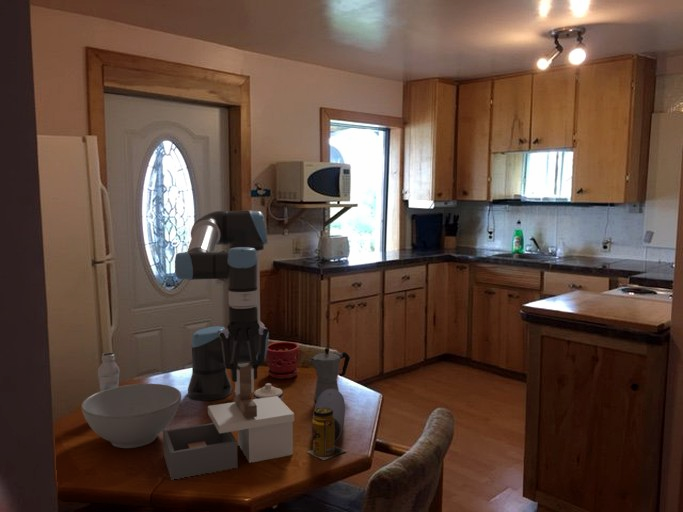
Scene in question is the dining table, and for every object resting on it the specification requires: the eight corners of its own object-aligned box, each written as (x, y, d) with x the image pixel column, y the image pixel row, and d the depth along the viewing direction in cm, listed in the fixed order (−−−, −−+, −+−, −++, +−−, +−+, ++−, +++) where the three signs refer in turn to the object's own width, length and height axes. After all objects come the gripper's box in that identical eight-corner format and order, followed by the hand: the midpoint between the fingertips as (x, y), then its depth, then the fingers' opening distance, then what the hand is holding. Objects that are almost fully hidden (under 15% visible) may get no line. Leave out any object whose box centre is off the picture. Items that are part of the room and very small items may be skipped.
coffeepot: (315, 406, 190) (315, 354, 189) (304, 398, 199) (303, 347, 197) (355, 399, 198) (356, 348, 196) (342, 391, 206) (343, 342, 204)
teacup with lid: (276, 427, 173) (275, 390, 172) (249, 424, 176) (248, 387, 175) (291, 413, 185) (291, 378, 184) (265, 410, 187) (265, 375, 186)
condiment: (306, 452, 157) (305, 409, 155) (329, 443, 162) (329, 402, 161) (323, 461, 151) (323, 417, 150) (347, 451, 157) (346, 409, 156)
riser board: (208, 447, 159) (207, 406, 158) (277, 435, 167) (277, 395, 166) (220, 471, 146) (219, 425, 144) (294, 456, 154) (294, 413, 152)
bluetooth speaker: (316, 417, 181) (316, 386, 180) (345, 417, 181) (345, 387, 180) (309, 449, 159) (309, 414, 158) (343, 449, 158) (343, 414, 157)
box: (163, 455, 154) (163, 430, 154) (224, 445, 161) (224, 421, 160) (171, 480, 141) (170, 453, 140) (237, 468, 147) (237, 441, 147)
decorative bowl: (140, 415, 183) (139, 378, 182) (201, 432, 170) (200, 393, 168) (62, 446, 160) (60, 404, 159) (126, 469, 147) (124, 423, 145)
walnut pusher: (233, 400, 160) (232, 358, 159) (244, 399, 162) (243, 357, 160) (245, 418, 148) (244, 373, 146) (256, 416, 149) (256, 371, 148)
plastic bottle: (126, 413, 184) (123, 352, 182) (109, 420, 178) (107, 358, 176) (111, 410, 187) (109, 350, 185) (94, 417, 181) (92, 355, 179)
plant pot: (269, 370, 231) (269, 341, 230) (302, 371, 229) (301, 341, 228) (262, 380, 218) (261, 349, 217) (296, 381, 216) (296, 350, 215)
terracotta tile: (204, 441, 156) (204, 449, 157) (187, 444, 154) (188, 452, 155) (207, 447, 152) (207, 456, 152) (190, 450, 150) (190, 459, 151)
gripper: (215, 310, 145) (217, 400, 148) (276, 306, 151) (277, 392, 154) (209, 305, 152) (211, 391, 154) (268, 301, 158) (269, 383, 161)
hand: (244, 391), depth 154 cm, fingers closed on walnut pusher, 3 cm apart
